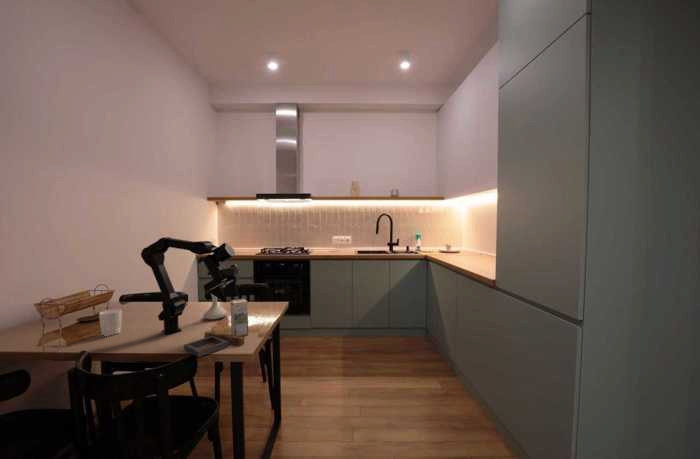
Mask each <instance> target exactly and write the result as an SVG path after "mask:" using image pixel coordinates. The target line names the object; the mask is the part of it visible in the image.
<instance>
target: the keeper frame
mask: <svg viewBox="0 0 700 459" xmlns="http://www.w3.org/2000/svg"><path fill="white" fill-rule="evenodd" d="M210 343H213V345H210V346H207V347H205V348H200V349H198V347H201V346H204V345H207V344H210ZM226 348H229V343H228V341H226V340H223V339H221V338H218V337H216V336H214V335H213V336H210V337H207V338H205V337H204V338H200V339H197V340H194V341H191V342H188V343H185V344H183V351H186V352H187V353H189V354H191V355H192V356H194V355H196V356H197V357H196V356H195V357H196V358H201V357H203V356H206V355H209V354H212V353H215V352H217V351H220V350H224V349H226Z"/></svg>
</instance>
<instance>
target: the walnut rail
mask: <svg viewBox="0 0 700 459" xmlns="http://www.w3.org/2000/svg"><path fill="white" fill-rule="evenodd" d="M203 333H204V338H207V337H210V336H213V335H214V336H216V337H218V338H221V339H223V340H226V341H228V344H233V345H237V346H243V345H245V337H243V336H233V335H232V334H228V333H227V334H226V333H221V332H214V331H209V330H208V331H205V332H203Z"/></svg>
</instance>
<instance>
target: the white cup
mask: <svg viewBox="0 0 700 459" xmlns="http://www.w3.org/2000/svg"><path fill="white" fill-rule="evenodd" d="M122 311H123V310H122V309H121V308H116V309H115V308H114V309H107V310H104V311H101V312H99V313H98V315H99V324H100V331H101V336H102V335H104V336H105V337H106V335H107V337H109V336H108V335H113V334H117V333H119V334H120V332H121V333H122V323H123V322H122V320H123V317H122V316H123V312H122ZM117 335H118V334H117ZM104 336H103V337H104ZM113 336H114V335H113Z"/></svg>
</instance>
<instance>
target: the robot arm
mask: <svg viewBox="0 0 700 459" xmlns="http://www.w3.org/2000/svg"><path fill="white" fill-rule="evenodd" d="M169 248H173V249H179V250H185V251H189V252H191V253H192V254H195V255H198V256H200V257H199V260H198V262H197V263H198V264H204V265H205V268H206V270H207V271H208V272H207V273H206V275H207V276H210V277H211V279H212V280H210V281H208V282H207V283H205V284H203V287H202V288H203V290H204V292H206V293H208V294H210V295H211V294H212V295H214V296H216V297H217V299H218V300H220V301H221V302H223V303H226V302H227V298H226V295H225V293H224V289H223V288H222V287H223V283H224V284H225V287H224V288H226V289H227V290H228V291H229V292H230V293H231V294H232V295H233V297H234V298H237V297H238V296H239V295H238V288H237V283H238V280H239V278H240V276H239V270H240V267H239V265H238V264H236V263H234V264H231V266H230V267H226V265H222V263H224V262H226V261H228V260H230V259H231V258H232V257H235V255H236V253H235V250H234V248H233V247H232V246H231V245H229V244H228V243H227V242H223V243H222V244H221V245H220V246H217V245H214V244H213V242H212V241H208V240H201V241H199V240H198V241H191V240H186V239H179V238H173V237H169V236H168V237H161V238H159V239H158V240H157V241H155V242H154V243H151V244H150V245H148V246H147V247H144V248H143V249H142V250H141V252H140V256H141V258H142V260H143V262H144V264H146V266H149V267H150V268H151V271H152V273H153V276H154V277H155V280H156V282H157V285H158V288H159V290H160V293H161V296H162V304H161V306H162V310H161V311H160V312H159V314H158V315H157V318H158V321H162V322H163V329H162V330H160V331H161V333H162V334H164V335H165V336H166V335H170V334H175V333H178V332H182V329H181V328H180V327H179V316H182V315H183V312H184V310H185V308H186V303H187V302H186V301H185V299H184V296H183V294H178V293H177V292H176V291H175V288H174V286H173V283H172V281H171V278H170V276H169V273H168V272H167V268H166V266H165V259H166V258H165V257H166V256H165V253H167V252H168V250H169ZM202 255H203V256H202ZM204 255H205V256H204ZM220 284H222V285H220ZM226 284H227V285H226Z"/></svg>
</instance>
